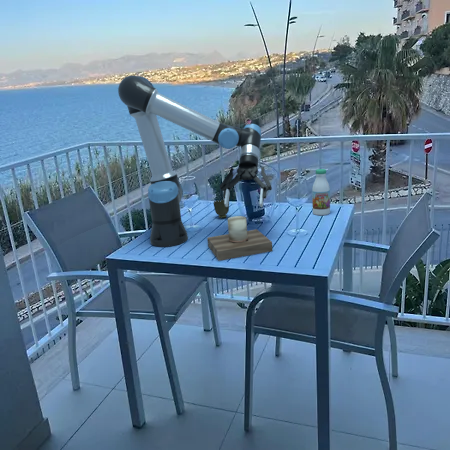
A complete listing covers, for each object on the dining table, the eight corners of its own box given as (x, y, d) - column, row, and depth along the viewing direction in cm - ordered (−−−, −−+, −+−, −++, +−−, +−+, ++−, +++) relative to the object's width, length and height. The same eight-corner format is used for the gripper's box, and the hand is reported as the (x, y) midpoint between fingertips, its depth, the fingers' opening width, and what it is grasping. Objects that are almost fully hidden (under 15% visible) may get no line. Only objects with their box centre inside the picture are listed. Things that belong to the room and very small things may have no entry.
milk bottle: (310, 212, 188) (309, 169, 182) (325, 210, 189) (325, 167, 183) (316, 216, 181) (315, 172, 175) (332, 214, 182) (332, 170, 176)
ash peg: (227, 246, 153) (225, 217, 150) (244, 243, 155) (242, 215, 151) (232, 252, 147) (230, 222, 143) (250, 249, 148) (248, 219, 145)
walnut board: (208, 246, 156) (207, 237, 155) (257, 237, 161) (256, 229, 160) (218, 260, 141) (217, 251, 140) (272, 251, 146) (272, 241, 145)
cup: (228, 219, 187) (227, 203, 184) (213, 220, 188) (211, 203, 186) (231, 215, 194) (230, 198, 191) (216, 215, 195) (215, 199, 193)
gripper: (281, 163, 163) (277, 210, 154) (221, 165, 170) (214, 210, 161) (279, 152, 157) (274, 200, 148) (216, 154, 163) (209, 200, 154)
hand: (243, 205), depth 154 cm, fingers open, 13 cm apart
